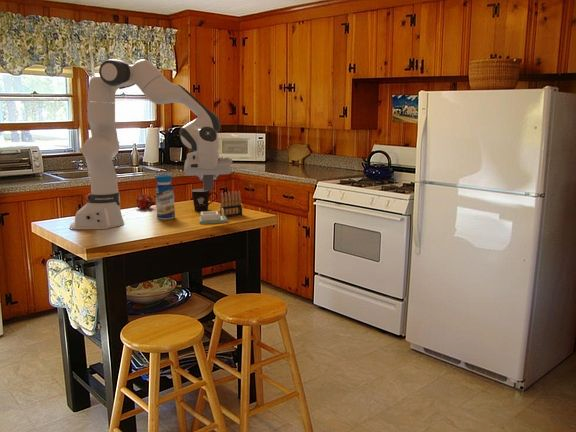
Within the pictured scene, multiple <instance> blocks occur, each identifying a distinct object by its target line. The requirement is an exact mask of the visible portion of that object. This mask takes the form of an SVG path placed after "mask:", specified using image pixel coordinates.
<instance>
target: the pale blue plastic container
mask: <svg viewBox="0 0 576 432" xmlns="http://www.w3.org/2000/svg"><path fill="white" fill-rule="evenodd" d="M198 218H199V224H200V225H204V224H205V225H207V224H224V223H227V224H228V217H226V216H224V209H223V208H222V216H220V215H219V212H218V210H214V211H213V210H212V211H200V216H199V217H198Z"/></svg>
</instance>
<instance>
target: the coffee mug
mask: <svg viewBox="0 0 576 432" xmlns="http://www.w3.org/2000/svg"><path fill="white" fill-rule="evenodd" d="M212 194H214V195H215V198H214V199H213V200H212V201H210V202H209V199H210V197H211V195H212ZM191 195H192V196H191V197H192V201H193V208H194V211H195V212H208V210H209V206H210V205H211V204H212V203H214V202H215V200H216V201H217V198H218V194H217V192H213V191H212V192H210V191H204V190H203V188H197V189H191Z"/></svg>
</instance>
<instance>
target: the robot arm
mask: <svg viewBox="0 0 576 432" xmlns="http://www.w3.org/2000/svg"><path fill="white" fill-rule="evenodd" d="M98 69H99V70H98V73H99V74H98V75H97V74H96V75H94V76H92V77H91V78H90V79H89V84H88V88H87V89H88V90H87V122H88V125H89V129H90V132H91V133H90V135H91V137H89V138H88V139H86V140H85V141H84V143H82V147H81V153H82V156H83V157H84V158H85V162H86V167H87V170H88V173H89V179H90V190H91V191H90V192H91V193H88V194H87V195H86V201H87V203H85V204H84V205H83V206H82V207H81V208H79V210H77V211H76V212H75V216H74V217H75V218H74V222H72V223H70V225H69V229H70V228H72V229H71V230H107V229H111V228H116V227H120V226H123V225H124V224H125V221H124V218H123V215H122V210H121V195H120V192H119V187H118V186H119V184H118V175H117V171H116V170H115V169H116V168H115V166H114V162H113V159H114V158H115V157H116V156H117V155H118V153H119V150H120V144H119V139H118V131H117V127H116V126H117V125H116V92H117V91H118V90H123V89H127V88H130V87H133V86H134V85H136V86H137V88H138V89H140V91H141V92H142V93H143V95H144V96H145V97H146V98H147V99H148V101H150V102H151V103H153V104H155V105H156V104H157V105H166V104H172V103H173V104H174V103H177V104H178V103H179V104H181V105H182V104H183V105H184V106H186V108H187V109H189V111H191V112H192V113H193V114H194V115H195V116H197V117H196V118H195V119H193V120H192V121H190V122H188V123H186V124H185V125H183V126H182V127H181V128H180V129H179V139H180V142H181V144H182V145H183V146H184V147H185V148H186V149H188V150H191V151H192V152H188V153H186V159H185V161H184V168H183V169H184V175H185V176H186V177H187V176H189V177H190V176H192V177H193V176H196V177H198V178H199V181H203V175H213V181H215V180H216V181H217V178H218V177H219V176H220V175H230V174H232V164H233V159H232V158H230V157H219V149H220V145H219V144H220V142H219V141H220V139H219V136H218V134H219V132H220V130H221V120H220V118H219V117H218V116H217V115H216V114H215V113H214V112H212V111H211V110H210V109H208V108H207V107H206V106H205V105H204V104H203V103H202V102H200V101H199V100H198V99H197V98H196V97H195V96H194V95H193V94H192V93H191V92H190V91H188V90H187V89H186V88H185V87H184V86H182V85H180V84H176V83H173V82H171V80H168V78H167V77H165V75H164V74H163V73H162V72H161V71H160V70H159V69H158V67H156V65H154V64H153V63H152V62H151V61H149V60H147V59H145V58H143V59H140V60H137V61H136V62H134V63H133V62H131V61H127V60H126V59H115V58H110V59H106V60H104V61H103V62H102V63H101V64H100V66H99V68H98Z"/></svg>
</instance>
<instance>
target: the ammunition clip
mask: <svg viewBox="0 0 576 432" xmlns="http://www.w3.org/2000/svg"><path fill="white" fill-rule="evenodd" d="M222 208H223V209H224V216H226V218H232V217H240V216H243V207H242V197H241V191H240V190H238V191H237V190H235V191H233V190H231V192H230V191H228V192H227V191H225V192H224V193H223V191H221V193H220V212H219V213H220V215H219V216H222ZM239 215H240V216H239Z"/></svg>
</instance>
